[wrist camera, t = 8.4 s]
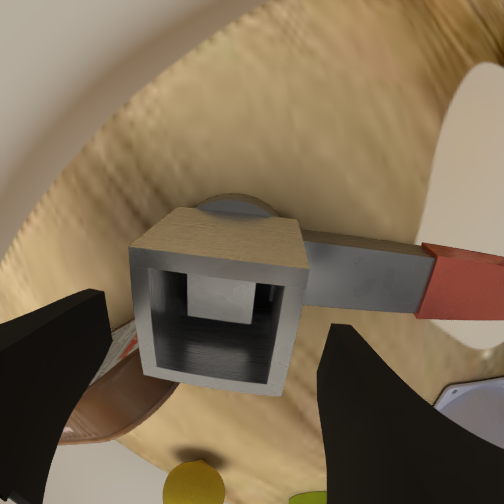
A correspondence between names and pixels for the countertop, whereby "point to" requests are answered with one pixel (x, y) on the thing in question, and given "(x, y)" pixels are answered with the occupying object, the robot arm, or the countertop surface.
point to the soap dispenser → (310, 498)
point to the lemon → (194, 485)
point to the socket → (227, 267)
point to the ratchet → (362, 277)
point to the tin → (117, 394)
